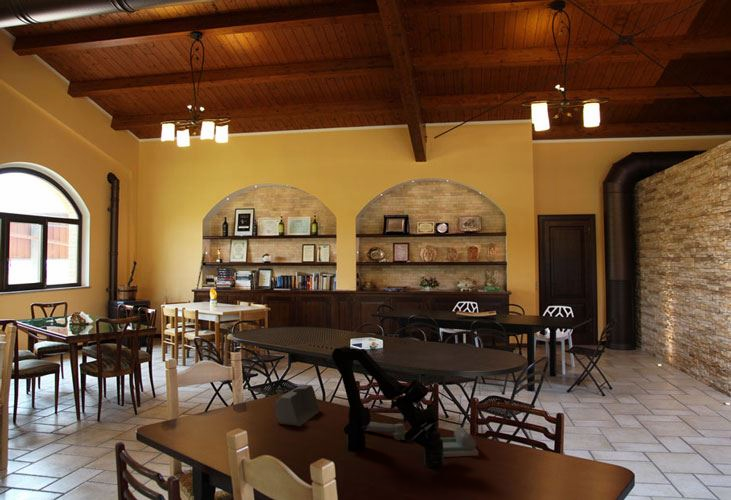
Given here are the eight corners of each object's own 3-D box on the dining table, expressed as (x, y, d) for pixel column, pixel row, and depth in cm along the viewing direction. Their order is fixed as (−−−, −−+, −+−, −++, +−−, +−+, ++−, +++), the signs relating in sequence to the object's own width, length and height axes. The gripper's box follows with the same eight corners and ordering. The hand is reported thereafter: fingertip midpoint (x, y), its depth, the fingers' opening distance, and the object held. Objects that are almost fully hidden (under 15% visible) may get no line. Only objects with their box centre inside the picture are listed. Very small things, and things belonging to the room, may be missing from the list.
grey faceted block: (290, 408, 255) (290, 382, 255) (320, 411, 250) (320, 385, 250) (266, 423, 231) (266, 395, 231) (298, 427, 226) (299, 398, 226)
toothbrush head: (358, 418, 226) (408, 420, 212) (360, 434, 225) (410, 437, 212) (351, 421, 221) (402, 424, 208) (353, 437, 221) (404, 441, 207)
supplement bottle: (422, 461, 188) (422, 428, 188) (440, 461, 188) (440, 427, 188) (426, 469, 181) (426, 434, 181) (445, 468, 181) (445, 434, 182)
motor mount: (436, 457, 192) (436, 439, 192) (427, 443, 206) (427, 427, 206) (478, 455, 194) (478, 437, 194) (466, 442, 208) (466, 426, 208)
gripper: (412, 403, 179) (441, 441, 173) (433, 392, 195) (461, 426, 189) (392, 423, 183) (420, 460, 177) (415, 410, 199) (441, 444, 193)
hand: (437, 447), depth 184 cm, fingers closed on supplement bottle, 7 cm apart
